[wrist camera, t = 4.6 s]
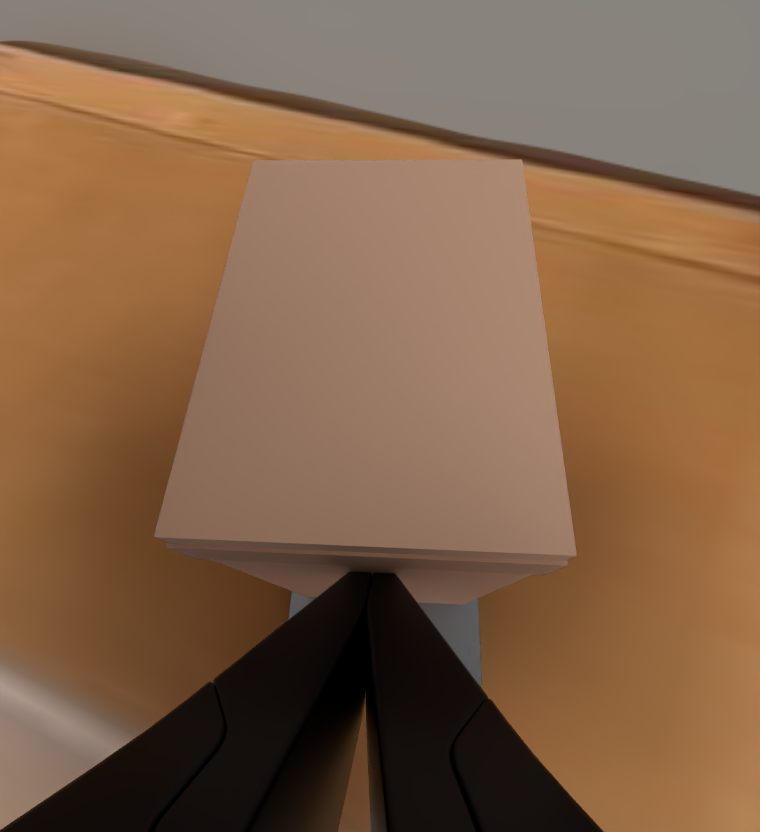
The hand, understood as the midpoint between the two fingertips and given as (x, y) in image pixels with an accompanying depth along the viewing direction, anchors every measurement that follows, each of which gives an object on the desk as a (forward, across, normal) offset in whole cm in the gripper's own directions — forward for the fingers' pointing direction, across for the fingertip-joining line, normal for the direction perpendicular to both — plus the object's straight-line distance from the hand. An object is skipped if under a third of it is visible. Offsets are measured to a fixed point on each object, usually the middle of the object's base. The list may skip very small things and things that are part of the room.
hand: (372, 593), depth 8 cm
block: (+8, 0, -3) cm, 8 cm away
